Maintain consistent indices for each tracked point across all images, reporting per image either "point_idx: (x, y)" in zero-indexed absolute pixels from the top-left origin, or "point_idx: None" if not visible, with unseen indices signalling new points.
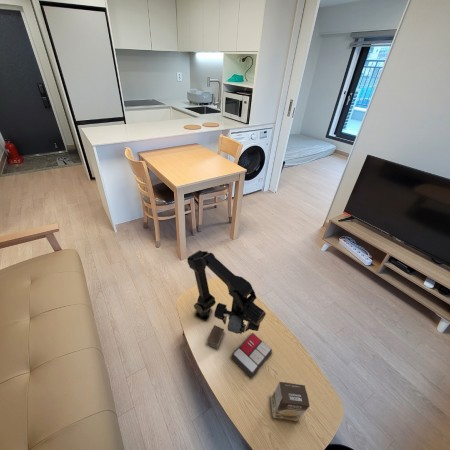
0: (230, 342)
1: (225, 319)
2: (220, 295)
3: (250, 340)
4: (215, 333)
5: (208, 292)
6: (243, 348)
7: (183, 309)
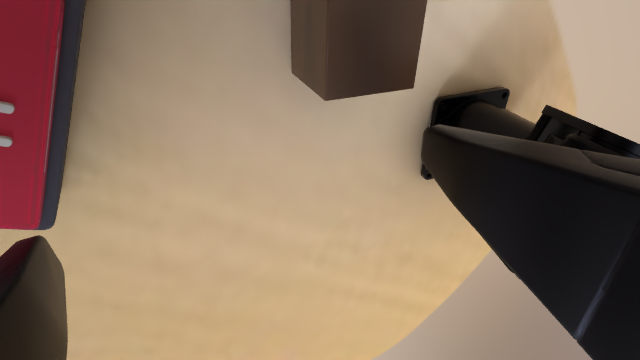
0: (204, 34)
1: (540, 208)
2: (393, 279)
3: (4, 151)
4: (385, 13)
5: None
6: (6, 6)
7: (569, 85)
